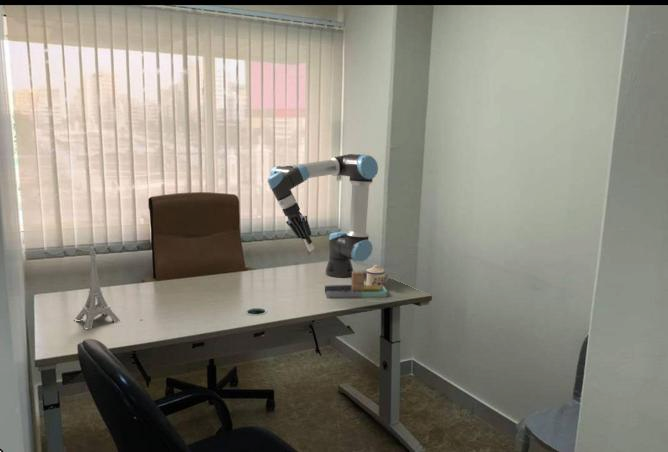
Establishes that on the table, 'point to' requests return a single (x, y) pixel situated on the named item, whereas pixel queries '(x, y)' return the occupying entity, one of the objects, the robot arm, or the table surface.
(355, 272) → the block
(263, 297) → the table surface
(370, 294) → the tray
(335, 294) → the slot board
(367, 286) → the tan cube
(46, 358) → the table surface
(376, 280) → the teacup with lid
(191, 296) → the table surface
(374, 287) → the yellow cube
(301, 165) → the robot arm
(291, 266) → the table surface
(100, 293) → the eiffel tower
